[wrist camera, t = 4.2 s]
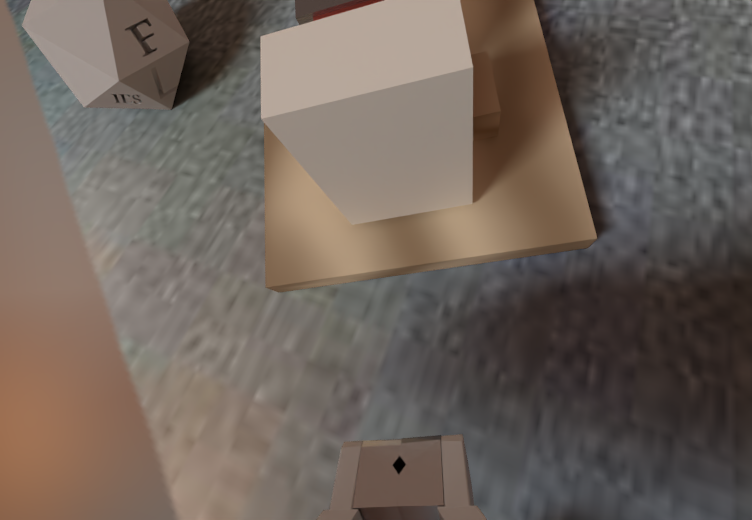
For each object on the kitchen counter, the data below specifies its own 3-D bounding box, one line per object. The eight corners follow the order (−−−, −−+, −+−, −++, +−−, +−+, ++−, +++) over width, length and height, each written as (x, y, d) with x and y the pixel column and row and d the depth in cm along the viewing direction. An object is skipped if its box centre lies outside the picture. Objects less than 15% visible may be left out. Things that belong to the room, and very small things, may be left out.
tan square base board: (521, -8, 23) (530, -71, 20) (587, 248, 18) (612, 222, 15) (274, 60, 26) (246, 16, 23) (279, 292, 22) (244, 279, 18)
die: (127, 159, 28) (93, 76, 19) (28, 65, 26) (-56, -69, 18) (215, 101, 31) (220, 9, 23) (131, 15, 30) (102, -118, 21)
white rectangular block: (462, 148, 19) (455, -21, 11) (472, 203, 18) (473, 67, 10) (347, 172, 20) (260, 36, 12) (351, 225, 20) (261, 119, 11)
